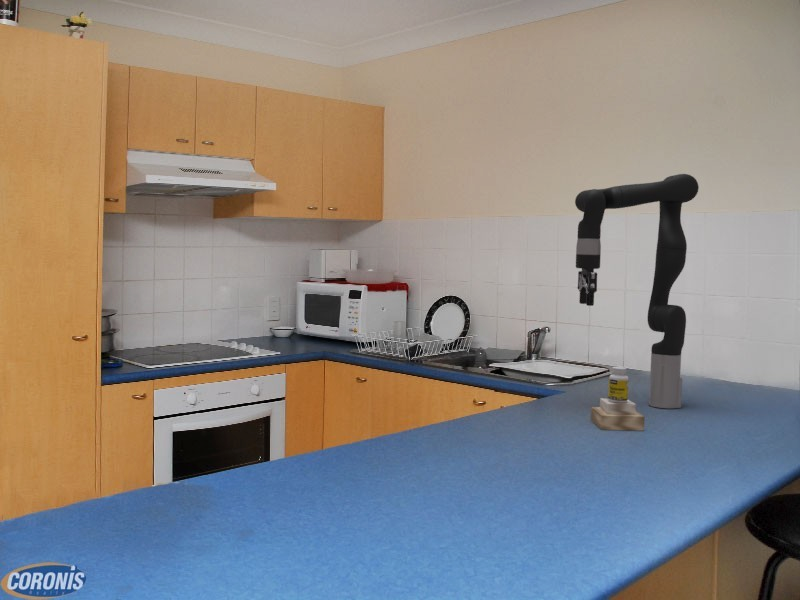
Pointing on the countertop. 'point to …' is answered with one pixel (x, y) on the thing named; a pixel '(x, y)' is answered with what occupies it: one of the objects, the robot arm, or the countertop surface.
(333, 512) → the countertop surface
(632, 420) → the tower base
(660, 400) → the robot arm
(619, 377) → the supplement bottle
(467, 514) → the countertop surface
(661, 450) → the countertop surface
